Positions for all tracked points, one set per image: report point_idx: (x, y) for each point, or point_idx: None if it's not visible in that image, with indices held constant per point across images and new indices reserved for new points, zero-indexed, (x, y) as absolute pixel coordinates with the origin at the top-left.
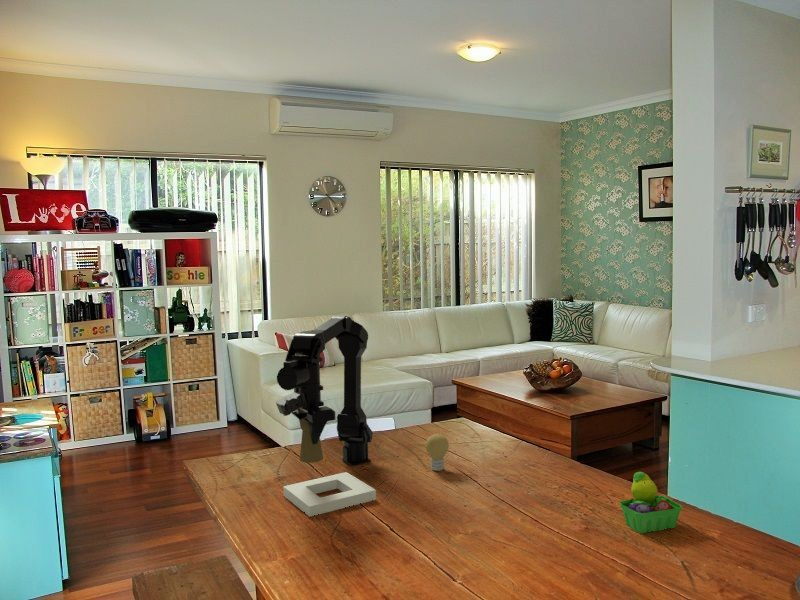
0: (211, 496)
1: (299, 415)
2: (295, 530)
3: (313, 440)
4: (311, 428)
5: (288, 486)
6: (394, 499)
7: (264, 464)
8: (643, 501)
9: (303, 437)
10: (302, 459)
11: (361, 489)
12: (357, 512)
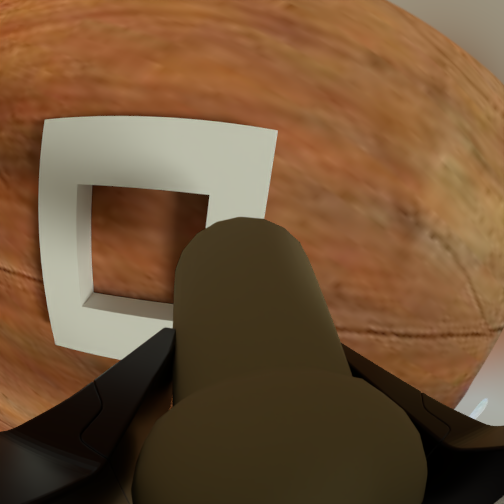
0: (408, 14)
1: (492, 483)
2: (31, 64)
3: (145, 346)
4: (42, 416)
5: (260, 144)
6: (54, 355)
7: (490, 246)
8: None
9: (260, 311)
10: (235, 222)
11: (71, 322)
12: (22, 247)
